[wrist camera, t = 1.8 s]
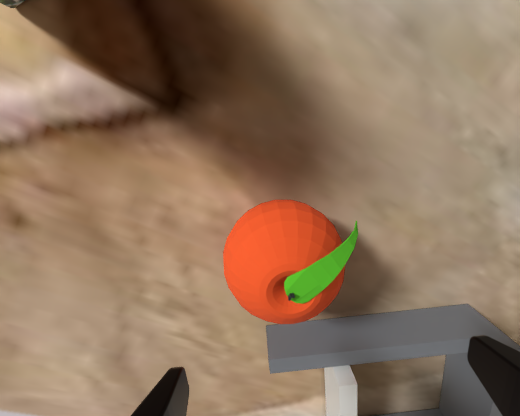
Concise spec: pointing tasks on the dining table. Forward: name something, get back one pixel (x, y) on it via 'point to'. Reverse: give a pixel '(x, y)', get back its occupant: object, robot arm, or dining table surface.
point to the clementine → (285, 261)
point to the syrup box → (11, 3)
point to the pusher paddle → (340, 391)
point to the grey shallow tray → (394, 349)
